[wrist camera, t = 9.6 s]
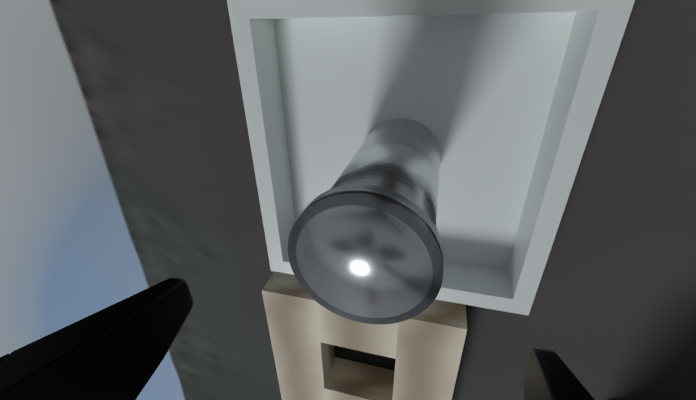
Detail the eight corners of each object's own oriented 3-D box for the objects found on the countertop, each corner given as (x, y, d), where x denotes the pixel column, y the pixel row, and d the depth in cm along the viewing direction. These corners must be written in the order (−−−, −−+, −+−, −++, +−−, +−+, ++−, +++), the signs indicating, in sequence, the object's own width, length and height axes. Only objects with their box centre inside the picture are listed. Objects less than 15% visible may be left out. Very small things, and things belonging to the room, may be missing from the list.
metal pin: (451, 114, 17) (454, 206, 9) (440, 199, 20) (434, 337, 11) (358, 110, 18) (279, 187, 10) (358, 191, 21) (294, 309, 12)
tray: (607, -16, 14) (643, -25, 11) (518, 280, 21) (528, 315, 19) (258, -3, 17) (225, -6, 15) (288, 245, 25) (270, 270, 22)
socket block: (465, 295, 23) (467, 329, 20) (441, 411, 30) (440, 448, 27) (279, 264, 26) (261, 290, 24) (295, 375, 33) (283, 405, 30)
